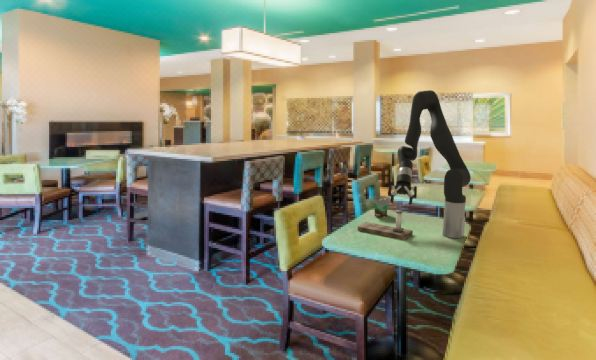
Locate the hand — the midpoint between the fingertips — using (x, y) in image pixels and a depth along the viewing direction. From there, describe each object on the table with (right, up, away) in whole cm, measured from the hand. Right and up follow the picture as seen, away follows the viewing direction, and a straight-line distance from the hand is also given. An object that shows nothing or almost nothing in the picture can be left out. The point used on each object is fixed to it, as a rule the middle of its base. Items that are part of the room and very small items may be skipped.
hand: (400, 203), depth 191 cm
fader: (-3, -13, -6) cm, 14 cm away
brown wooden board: (-9, -14, -1) cm, 17 cm away
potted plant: (-2, -9, +30) cm, 31 cm away
